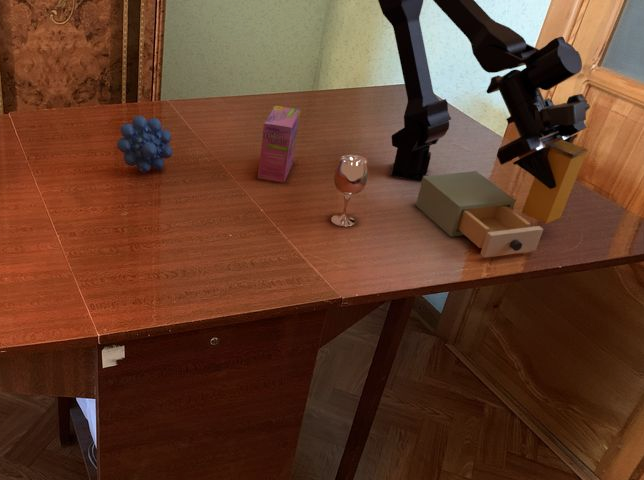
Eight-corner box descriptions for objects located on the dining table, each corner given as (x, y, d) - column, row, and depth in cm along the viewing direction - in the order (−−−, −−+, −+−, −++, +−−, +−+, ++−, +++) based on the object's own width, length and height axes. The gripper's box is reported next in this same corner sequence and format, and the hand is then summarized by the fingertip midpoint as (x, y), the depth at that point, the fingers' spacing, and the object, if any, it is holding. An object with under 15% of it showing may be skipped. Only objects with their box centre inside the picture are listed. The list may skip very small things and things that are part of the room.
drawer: (540, 254, 131) (548, 232, 129) (488, 261, 129) (495, 239, 126) (497, 220, 141) (504, 199, 138) (448, 226, 138) (454, 204, 136)
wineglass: (360, 216, 142) (372, 156, 135) (356, 230, 138) (368, 169, 131) (330, 211, 144) (340, 151, 136) (324, 224, 139) (334, 163, 132)
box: (284, 183, 153) (292, 126, 146) (257, 179, 154) (263, 122, 147) (293, 163, 161) (301, 108, 153) (267, 159, 162) (273, 105, 155)
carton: (545, 223, 135) (573, 154, 127) (521, 212, 138) (546, 144, 130) (560, 217, 138) (588, 149, 130) (536, 206, 141) (561, 139, 133)
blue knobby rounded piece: (124, 184, 150) (122, 126, 143) (114, 170, 155) (112, 113, 148) (178, 177, 154) (180, 119, 146) (167, 163, 159) (168, 107, 151)
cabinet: (505, 230, 140) (515, 200, 136) (450, 236, 137) (459, 206, 133) (468, 199, 149) (476, 170, 146) (415, 205, 147) (422, 176, 143)
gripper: (534, 90, 121) (574, 179, 121) (595, 70, 131) (632, 152, 131) (479, 122, 131) (516, 204, 131) (539, 101, 140) (573, 178, 140)
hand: (561, 184), depth 133 cm, fingers closed on carton, 5 cm apart
